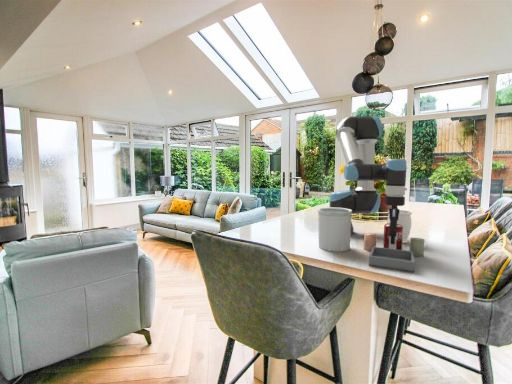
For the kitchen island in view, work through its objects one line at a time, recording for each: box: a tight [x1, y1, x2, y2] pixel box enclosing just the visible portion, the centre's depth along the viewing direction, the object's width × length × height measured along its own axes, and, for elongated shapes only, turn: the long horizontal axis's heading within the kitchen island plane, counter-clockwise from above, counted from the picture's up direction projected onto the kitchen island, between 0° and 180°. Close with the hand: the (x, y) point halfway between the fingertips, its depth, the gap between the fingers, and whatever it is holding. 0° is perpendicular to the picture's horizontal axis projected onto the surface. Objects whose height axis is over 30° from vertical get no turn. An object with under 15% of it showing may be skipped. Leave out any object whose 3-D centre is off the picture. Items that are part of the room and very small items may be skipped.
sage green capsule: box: [409, 237, 426, 259], centre depth 114 cm, size 5×5×7 cm
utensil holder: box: [317, 206, 353, 253], centre depth 126 cm, size 15×15×18 cm
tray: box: [368, 246, 415, 274], centre depth 105 cm, size 15×15×4 cm
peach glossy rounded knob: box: [363, 232, 378, 252], centre depth 123 cm, size 5×5×7 cm
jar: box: [386, 210, 413, 244], centre depth 137 cm, size 11×10×15 cm
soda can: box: [382, 223, 404, 250], centre depth 118 cm, size 7×7×12 cm
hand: (392, 248), depth 119 cm, fingers closed on soda can, 7 cm apart
